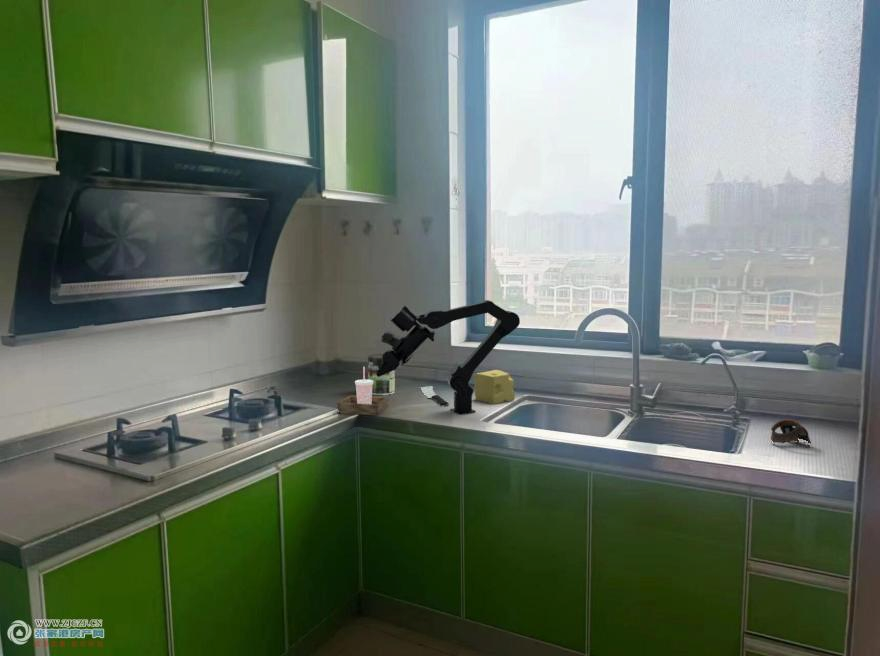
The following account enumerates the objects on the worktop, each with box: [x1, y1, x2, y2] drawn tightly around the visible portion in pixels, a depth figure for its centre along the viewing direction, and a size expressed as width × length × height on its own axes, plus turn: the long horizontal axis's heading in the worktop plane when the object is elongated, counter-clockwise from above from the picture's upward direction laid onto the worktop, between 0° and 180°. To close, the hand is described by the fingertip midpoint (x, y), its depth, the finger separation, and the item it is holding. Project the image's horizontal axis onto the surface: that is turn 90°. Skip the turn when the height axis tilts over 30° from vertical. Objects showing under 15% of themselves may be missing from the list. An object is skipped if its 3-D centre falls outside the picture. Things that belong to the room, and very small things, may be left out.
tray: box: [336, 394, 390, 416], centre depth 214 cm, size 14×12×3 cm
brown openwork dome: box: [770, 418, 812, 445], centre depth 177 cm, size 12×10×8 cm
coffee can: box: [367, 353, 396, 396], centre depth 241 cm, size 10×10×14 cm
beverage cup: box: [354, 366, 373, 404], centre depth 214 cm, size 6×6×14 cm
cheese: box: [474, 369, 516, 405], centre depth 230 cm, size 10×11×10 cm
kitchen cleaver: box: [420, 385, 449, 407], centre depth 235 cm, size 31×2×10 cm
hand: (381, 373), depth 212 cm, fingers open, 9 cm apart
